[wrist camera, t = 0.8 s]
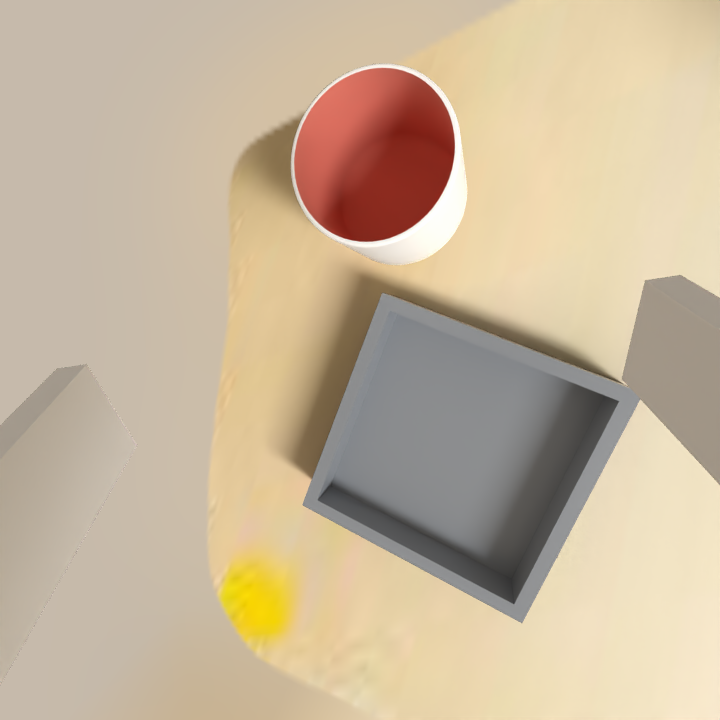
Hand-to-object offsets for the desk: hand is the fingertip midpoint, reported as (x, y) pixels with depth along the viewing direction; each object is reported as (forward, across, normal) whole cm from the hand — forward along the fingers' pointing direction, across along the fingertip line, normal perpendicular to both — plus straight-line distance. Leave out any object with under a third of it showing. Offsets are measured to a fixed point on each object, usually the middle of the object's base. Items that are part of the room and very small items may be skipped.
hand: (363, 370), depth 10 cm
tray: (+16, +5, -19) cm, 26 cm away
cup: (+26, +4, -3) cm, 27 cm away
